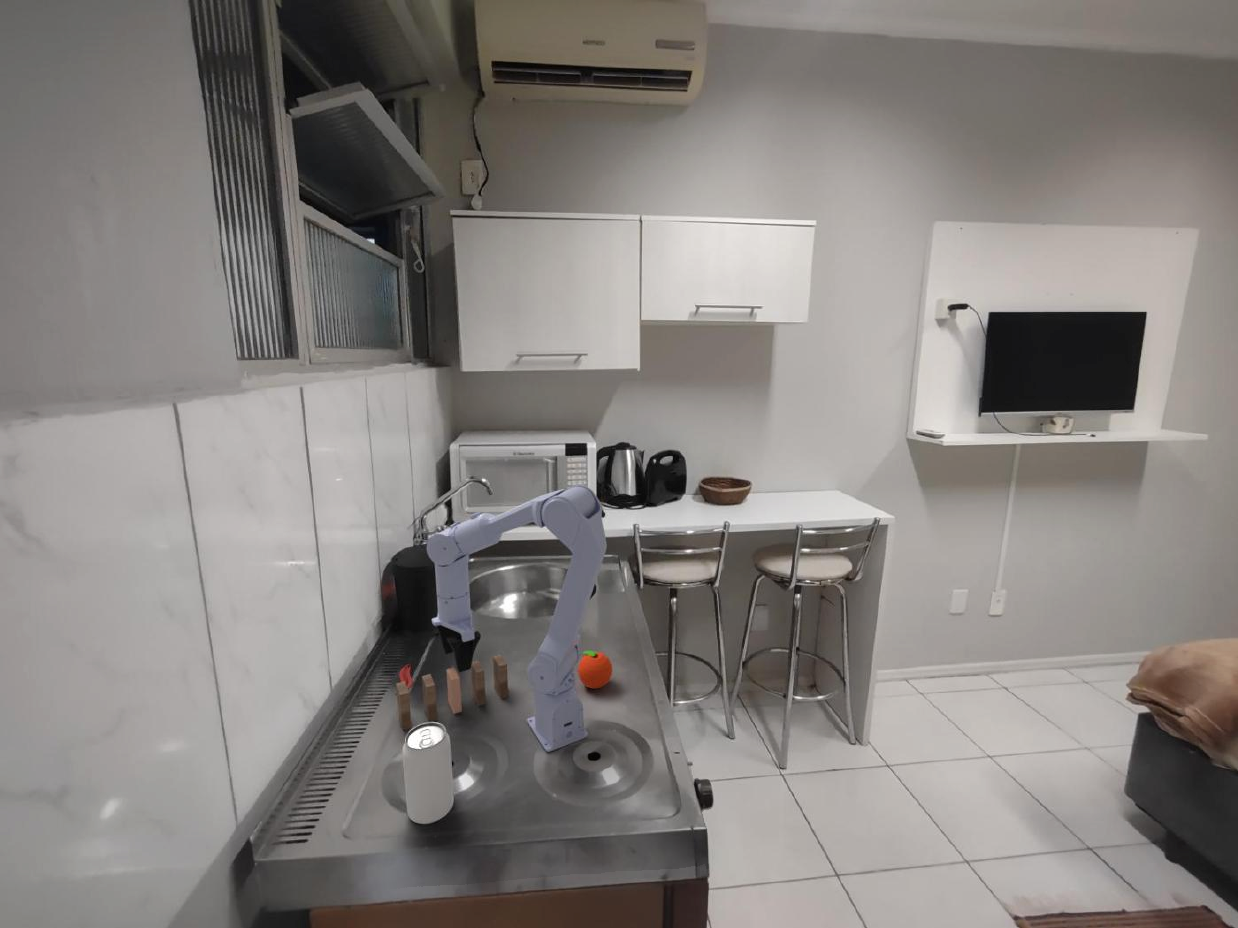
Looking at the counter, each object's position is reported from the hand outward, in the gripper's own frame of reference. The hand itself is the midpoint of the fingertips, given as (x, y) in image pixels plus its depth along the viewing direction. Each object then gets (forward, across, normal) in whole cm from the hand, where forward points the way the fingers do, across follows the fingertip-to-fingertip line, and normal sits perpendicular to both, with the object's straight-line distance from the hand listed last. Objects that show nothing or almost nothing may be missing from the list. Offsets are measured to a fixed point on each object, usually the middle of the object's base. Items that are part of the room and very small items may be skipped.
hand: (457, 660), depth 100 cm
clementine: (+10, +9, +24) cm, 28 cm away
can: (+10, +21, -12) cm, 26 cm away
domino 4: (+9, 0, +4) cm, 10 cm away
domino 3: (+9, 0, -1) cm, 9 cm away
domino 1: (+9, -1, -10) cm, 14 cm away
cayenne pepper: (+10, -15, -6) cm, 19 cm away
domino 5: (+9, +1, +8) cm, 12 cm away
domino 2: (+9, 0, -5) cm, 11 cm away
